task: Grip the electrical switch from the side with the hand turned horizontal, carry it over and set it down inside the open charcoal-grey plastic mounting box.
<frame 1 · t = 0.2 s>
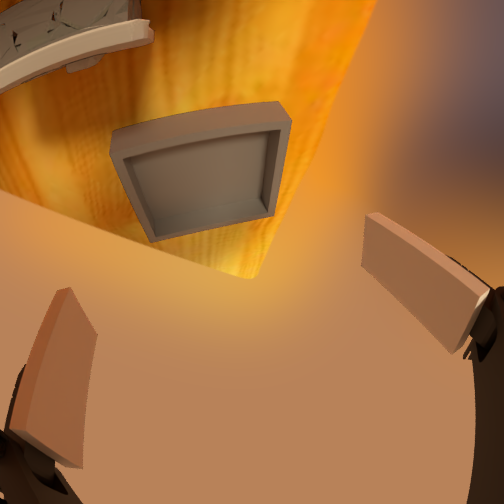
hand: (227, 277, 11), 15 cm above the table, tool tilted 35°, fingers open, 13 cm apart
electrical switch: (80, 23, 9), on the table
mounting box: (202, 166, 24), on the table
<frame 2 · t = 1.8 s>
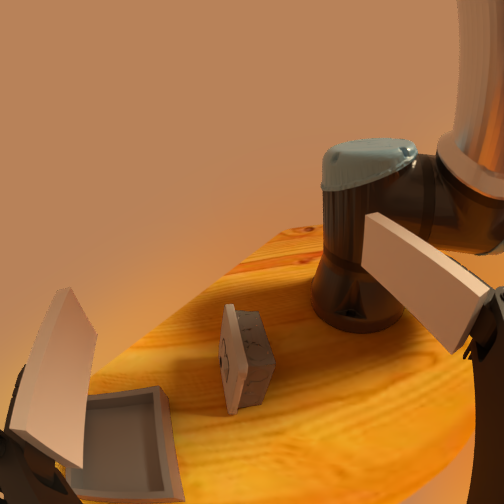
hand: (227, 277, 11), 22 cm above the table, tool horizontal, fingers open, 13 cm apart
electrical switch: (245, 380, 30), on the table
mounting box: (124, 451, 21), on the table
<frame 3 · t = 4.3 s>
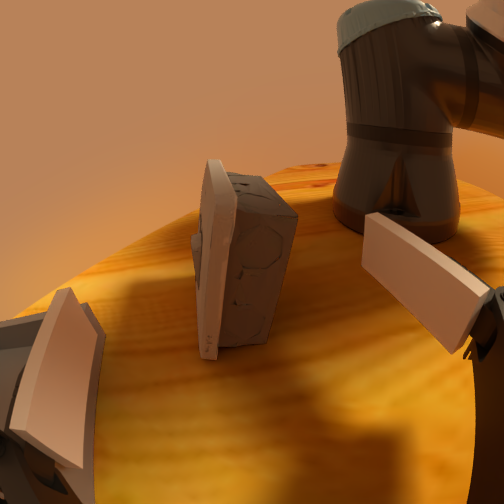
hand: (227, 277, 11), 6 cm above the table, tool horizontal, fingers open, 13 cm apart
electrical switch: (237, 306, 18), on the table
mounting box: (22, 416, 10), on the table
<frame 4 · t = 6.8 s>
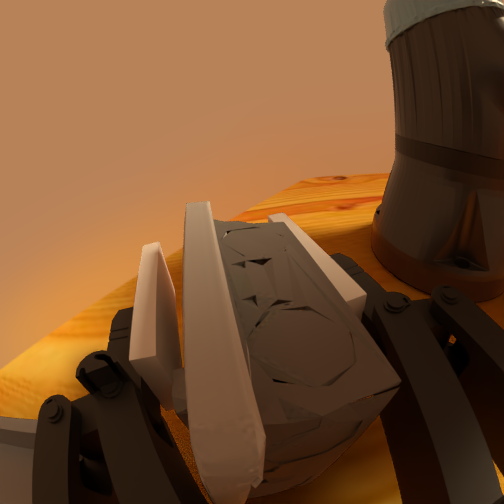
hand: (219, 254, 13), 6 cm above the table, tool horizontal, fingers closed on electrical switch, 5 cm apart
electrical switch: (263, 417, 11), on the table, touching gripper
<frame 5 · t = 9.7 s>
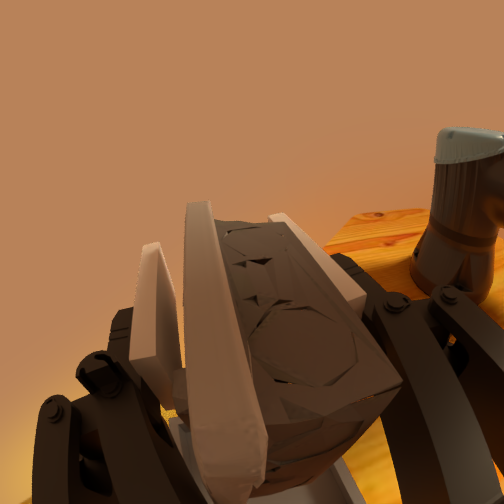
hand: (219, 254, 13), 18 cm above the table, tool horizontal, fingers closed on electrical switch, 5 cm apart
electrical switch: (263, 417, 11), point 13 cm above the table, touching gripper
mounting box: (261, 477, 17), on the table
when the fingers open (8 cm above the table, at t = 12.4 s): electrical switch drops 2 cm, resting on mounting box.
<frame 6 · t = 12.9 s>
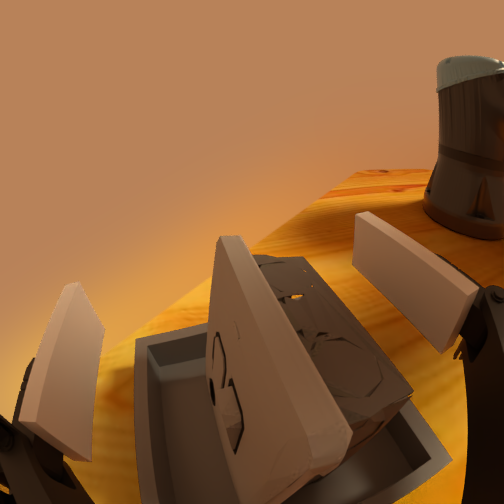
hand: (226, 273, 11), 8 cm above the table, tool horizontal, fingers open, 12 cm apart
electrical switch: (271, 426, 12), point 1 cm above the table, touching mounting box
mounting box: (268, 431, 12), on the table
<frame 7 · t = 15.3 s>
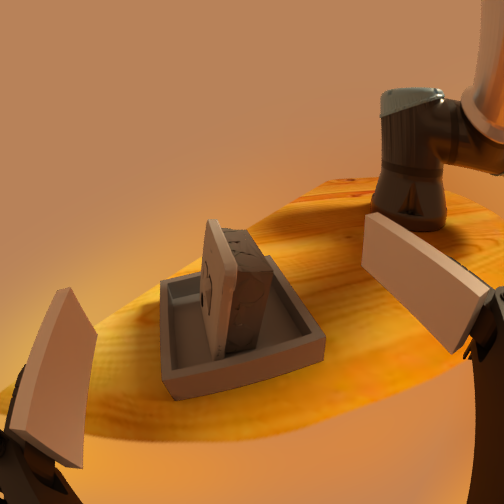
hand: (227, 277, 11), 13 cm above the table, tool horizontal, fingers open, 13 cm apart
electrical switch: (233, 323, 26), point 1 cm above the table, touching mounting box
mounting box: (232, 328, 26), on the table
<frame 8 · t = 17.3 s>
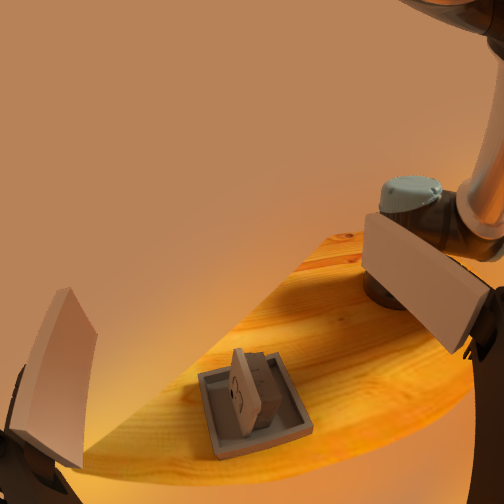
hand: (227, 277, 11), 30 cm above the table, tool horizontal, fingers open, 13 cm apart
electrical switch: (253, 407, 34), point 1 cm above the table, touching mounting box
mounting box: (252, 409, 34), on the table
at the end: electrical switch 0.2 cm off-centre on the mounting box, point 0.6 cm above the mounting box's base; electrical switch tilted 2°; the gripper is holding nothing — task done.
